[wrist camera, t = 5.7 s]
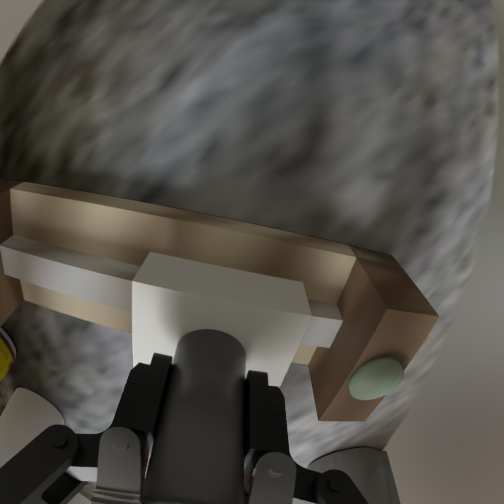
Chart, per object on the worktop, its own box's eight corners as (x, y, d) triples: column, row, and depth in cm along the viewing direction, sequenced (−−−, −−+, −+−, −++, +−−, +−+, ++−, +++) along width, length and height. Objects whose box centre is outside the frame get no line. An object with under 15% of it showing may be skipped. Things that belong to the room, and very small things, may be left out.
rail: (392, 255, 17) (442, 321, 11) (344, 353, 21) (365, 426, 15) (-5, 177, 14) (-72, 211, 9) (7, 278, 18) (-40, 328, 12)
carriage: (302, 282, 14) (350, 485, 5) (269, 369, 17) (277, 531, 8) (150, 251, 13) (51, 438, 5) (146, 346, 16) (96, 503, 7)
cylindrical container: (37, 388, 24) (-34, 574, 2) (75, 427, 27) (26, 598, 5) (5, 386, 25) (-62, 542, 2) (40, 423, 28) (-10, 570, 5)
